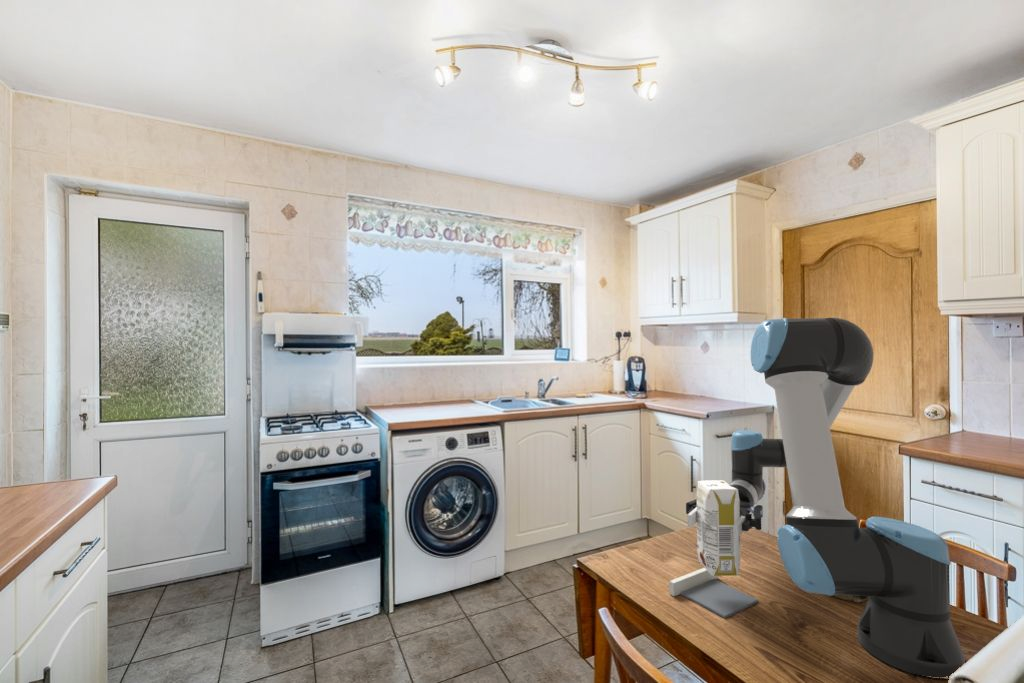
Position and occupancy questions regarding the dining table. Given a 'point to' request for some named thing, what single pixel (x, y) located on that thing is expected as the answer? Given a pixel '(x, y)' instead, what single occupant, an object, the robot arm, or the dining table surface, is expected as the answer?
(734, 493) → the juice carton
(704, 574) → the fence
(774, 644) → the dining table surface
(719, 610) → the mat
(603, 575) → the dining table surface
